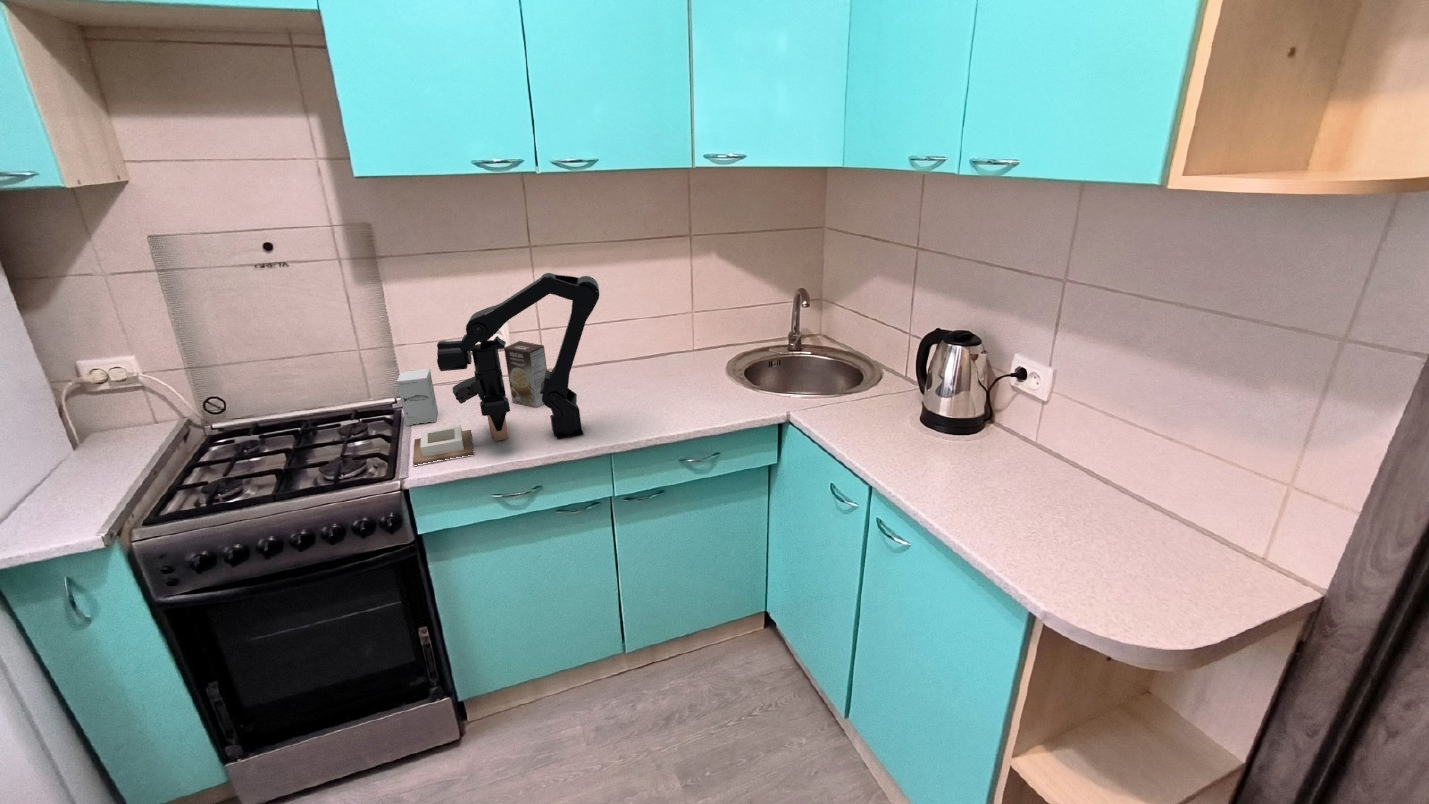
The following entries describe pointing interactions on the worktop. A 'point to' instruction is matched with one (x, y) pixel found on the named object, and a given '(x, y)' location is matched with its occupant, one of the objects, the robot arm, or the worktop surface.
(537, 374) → the coffee box
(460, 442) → the board
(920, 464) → the worktop surface
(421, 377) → the supplement box
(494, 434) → the terracotta pin
